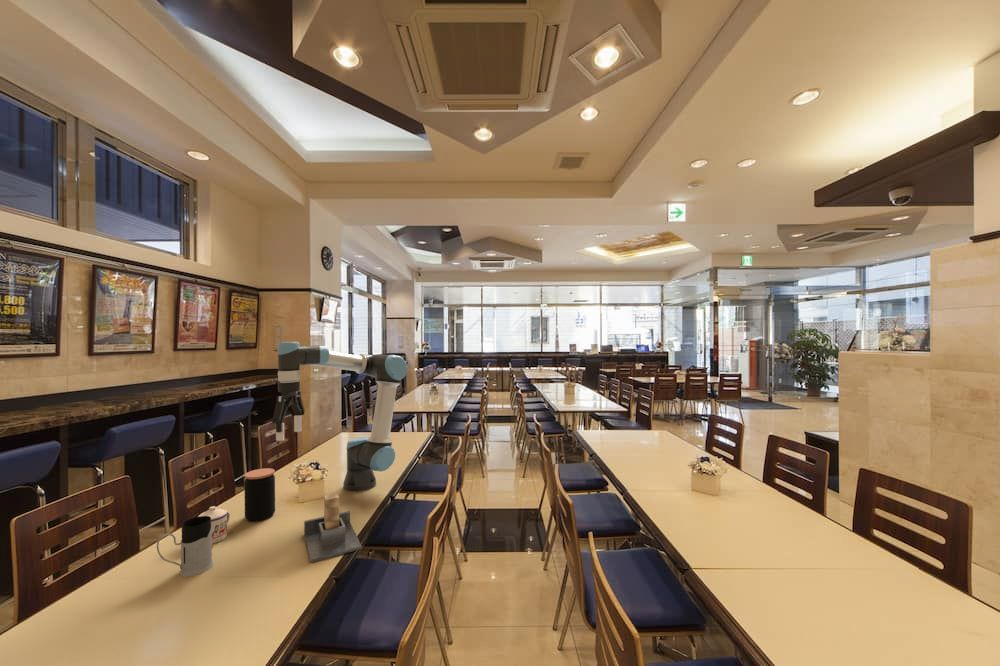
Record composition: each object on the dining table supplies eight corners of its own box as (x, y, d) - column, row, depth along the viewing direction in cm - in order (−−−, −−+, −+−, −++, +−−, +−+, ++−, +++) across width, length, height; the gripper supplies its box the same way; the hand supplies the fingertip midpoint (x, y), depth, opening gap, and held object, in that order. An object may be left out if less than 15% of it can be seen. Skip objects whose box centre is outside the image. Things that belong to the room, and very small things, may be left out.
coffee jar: (280, 511, 170) (280, 468, 170) (263, 523, 159) (263, 477, 159) (257, 510, 171) (256, 467, 171) (238, 522, 160) (238, 476, 160)
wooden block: (337, 534, 148) (337, 493, 148) (339, 539, 144) (339, 497, 144) (324, 537, 146) (324, 495, 146) (326, 542, 142) (325, 500, 142)
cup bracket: (349, 523, 158) (349, 508, 158) (361, 549, 139) (361, 531, 139) (304, 534, 150) (304, 518, 150) (310, 562, 131) (310, 544, 131)
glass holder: (217, 567, 129) (217, 520, 129) (160, 588, 118) (160, 537, 118) (208, 557, 135) (208, 512, 135) (153, 577, 124) (153, 528, 124)
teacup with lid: (213, 546, 142) (213, 513, 142) (190, 545, 143) (190, 512, 143) (239, 529, 154) (239, 499, 154) (218, 528, 155) (217, 498, 155)
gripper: (295, 378, 170) (295, 428, 170) (260, 385, 145) (261, 444, 145) (313, 377, 170) (313, 428, 170) (281, 385, 145) (282, 444, 145)
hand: (289, 436), depth 158 cm, fingers open, 13 cm apart
